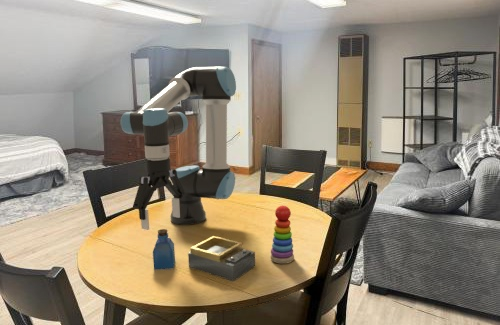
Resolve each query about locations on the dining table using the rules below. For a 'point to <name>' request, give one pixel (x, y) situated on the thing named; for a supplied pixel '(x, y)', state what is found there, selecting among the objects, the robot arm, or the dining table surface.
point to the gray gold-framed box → (221, 258)
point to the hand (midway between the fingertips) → (161, 222)
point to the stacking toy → (282, 237)
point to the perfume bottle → (163, 251)
